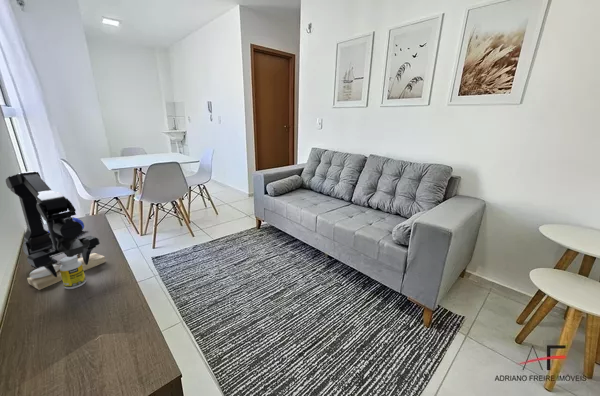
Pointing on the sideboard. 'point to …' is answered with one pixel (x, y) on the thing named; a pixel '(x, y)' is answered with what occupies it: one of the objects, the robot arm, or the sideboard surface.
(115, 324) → the sideboard surface
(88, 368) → the sideboard surface
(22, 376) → the sideboard surface
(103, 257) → the balance
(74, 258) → the pill bottle
